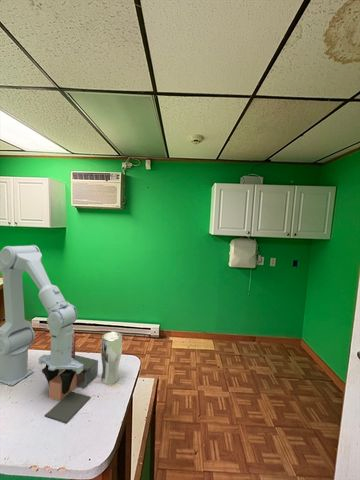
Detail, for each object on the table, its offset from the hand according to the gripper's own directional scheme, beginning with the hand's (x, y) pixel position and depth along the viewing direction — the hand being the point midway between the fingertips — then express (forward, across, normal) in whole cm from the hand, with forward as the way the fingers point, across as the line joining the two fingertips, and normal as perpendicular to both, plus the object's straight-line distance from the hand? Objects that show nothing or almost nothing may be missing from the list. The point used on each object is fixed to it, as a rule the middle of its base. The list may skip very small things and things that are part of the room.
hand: (59, 390), depth 72 cm
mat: (+1, +6, -3) cm, 7 cm away
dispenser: (+1, 0, +8) cm, 9 cm away
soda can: (+2, -9, +12) cm, 15 cm away
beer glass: (+2, +10, +12) cm, 16 cm away
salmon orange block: (+1, 0, +3) cm, 3 cm away
